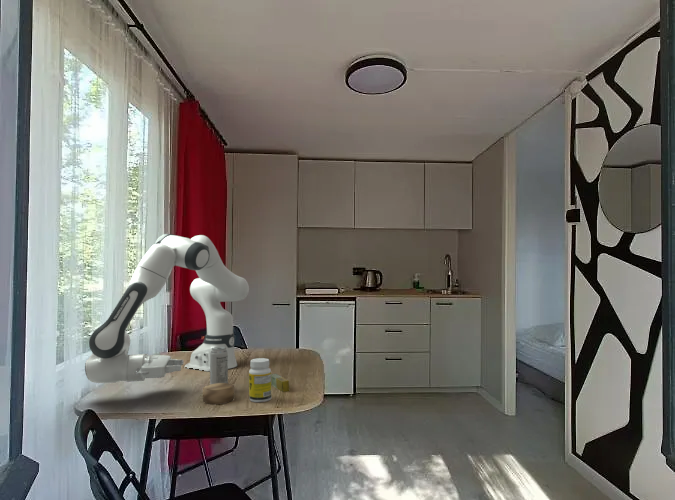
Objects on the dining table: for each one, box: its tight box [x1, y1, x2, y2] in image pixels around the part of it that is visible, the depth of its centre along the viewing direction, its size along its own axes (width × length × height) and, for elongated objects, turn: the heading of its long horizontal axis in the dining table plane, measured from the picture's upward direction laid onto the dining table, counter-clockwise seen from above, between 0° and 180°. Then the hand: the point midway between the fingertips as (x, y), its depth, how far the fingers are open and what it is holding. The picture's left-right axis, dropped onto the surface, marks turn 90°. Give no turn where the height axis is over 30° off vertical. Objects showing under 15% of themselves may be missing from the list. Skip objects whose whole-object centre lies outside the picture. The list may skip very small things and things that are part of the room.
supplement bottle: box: [248, 357, 273, 403], centre depth 154 cm, size 7×7×13 cm
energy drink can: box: [209, 347, 229, 385], centre depth 165 cm, size 6×6×15 cm
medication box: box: [271, 373, 290, 393], centre depth 168 cm, size 12×3×4 cm, turn 29°
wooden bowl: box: [202, 382, 235, 405], centre depth 155 cm, size 10×10×4 cm
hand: (182, 364), depth 162 cm, fingers open, 8 cm apart
